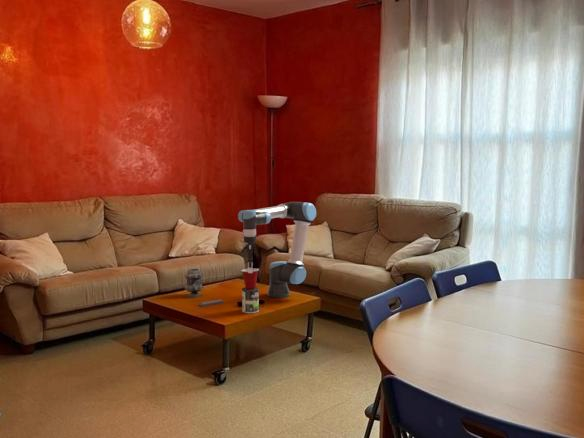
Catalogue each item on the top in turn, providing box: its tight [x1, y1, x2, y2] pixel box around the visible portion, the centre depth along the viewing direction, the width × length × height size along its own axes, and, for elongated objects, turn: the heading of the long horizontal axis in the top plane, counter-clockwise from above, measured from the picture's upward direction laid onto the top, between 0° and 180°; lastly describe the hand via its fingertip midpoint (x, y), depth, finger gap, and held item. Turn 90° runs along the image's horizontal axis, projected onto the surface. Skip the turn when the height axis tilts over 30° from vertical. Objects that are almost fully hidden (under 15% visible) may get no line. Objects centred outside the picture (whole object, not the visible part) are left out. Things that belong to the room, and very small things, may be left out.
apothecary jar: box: [184, 268, 204, 298], centre depth 371 cm, size 12×12×18 cm
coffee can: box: [241, 286, 260, 314], centre depth 335 cm, size 10×10×14 cm
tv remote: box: [198, 299, 224, 308], centre depth 352 cm, size 15×4×2 cm, turn 124°
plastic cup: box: [240, 268, 260, 290], centre depth 333 cm, size 11×11×12 cm
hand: (250, 270), depth 333 cm, fingers open, 13 cm apart
